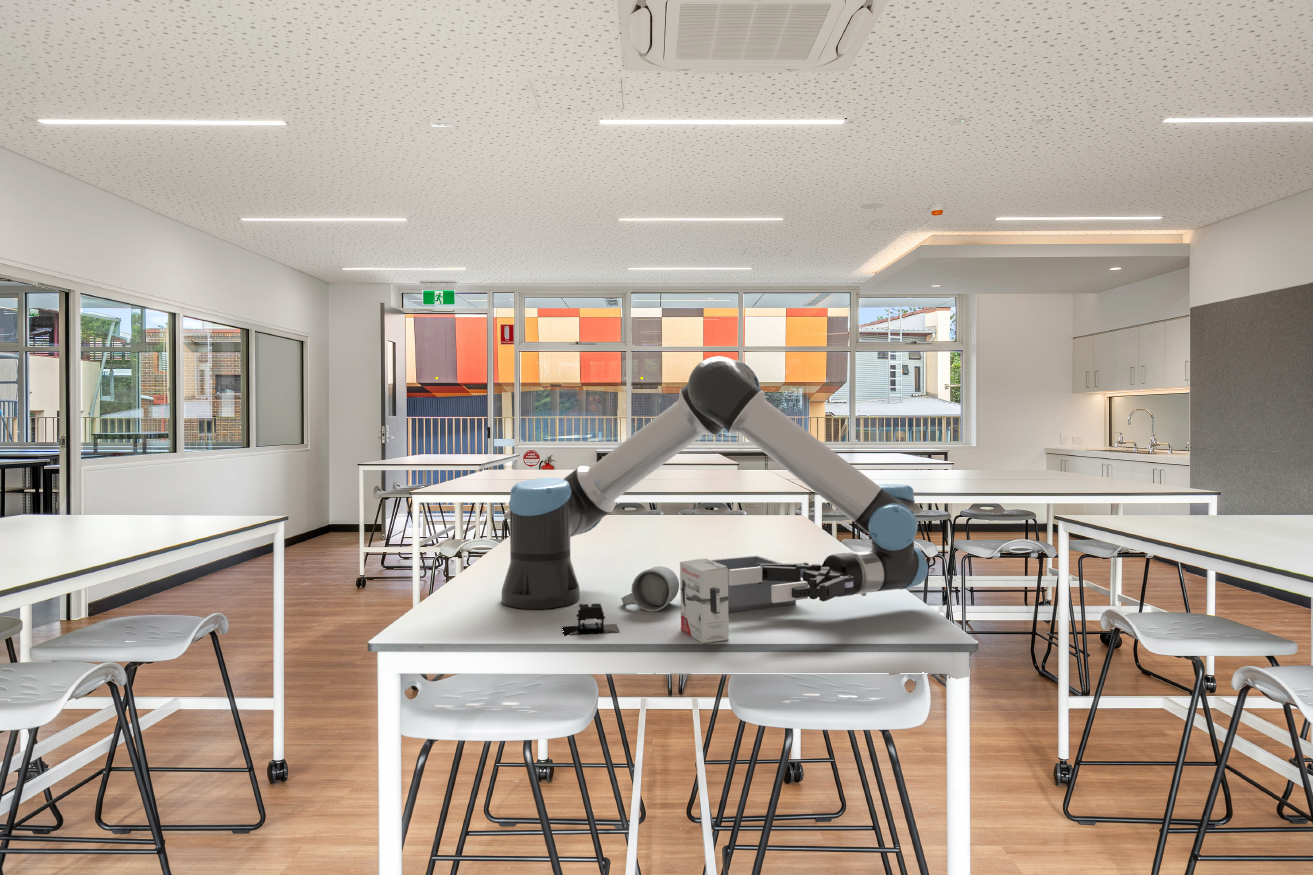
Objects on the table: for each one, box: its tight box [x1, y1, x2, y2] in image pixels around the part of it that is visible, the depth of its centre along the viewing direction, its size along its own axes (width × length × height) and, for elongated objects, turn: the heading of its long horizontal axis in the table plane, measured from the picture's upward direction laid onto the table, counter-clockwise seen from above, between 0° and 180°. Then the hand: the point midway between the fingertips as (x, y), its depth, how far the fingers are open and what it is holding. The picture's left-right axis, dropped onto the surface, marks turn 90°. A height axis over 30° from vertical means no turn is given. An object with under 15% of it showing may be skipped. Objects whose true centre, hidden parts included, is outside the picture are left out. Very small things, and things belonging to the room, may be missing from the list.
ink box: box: [679, 558, 730, 644], centre depth 118 cm, size 8×5×12 cm, turn 23°
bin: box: [710, 555, 797, 614], centre depth 141 cm, size 14×17×7 cm
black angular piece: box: [560, 603, 621, 637], centre depth 122 cm, size 12×7×5 cm, turn 100°
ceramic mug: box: [621, 565, 680, 613], centre depth 137 cm, size 11×8×8 cm
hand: (749, 585), depth 122 cm, fingers open, 13 cm apart
